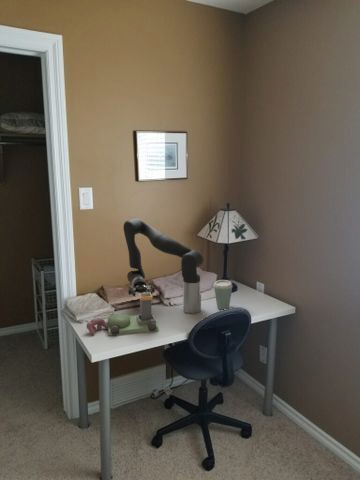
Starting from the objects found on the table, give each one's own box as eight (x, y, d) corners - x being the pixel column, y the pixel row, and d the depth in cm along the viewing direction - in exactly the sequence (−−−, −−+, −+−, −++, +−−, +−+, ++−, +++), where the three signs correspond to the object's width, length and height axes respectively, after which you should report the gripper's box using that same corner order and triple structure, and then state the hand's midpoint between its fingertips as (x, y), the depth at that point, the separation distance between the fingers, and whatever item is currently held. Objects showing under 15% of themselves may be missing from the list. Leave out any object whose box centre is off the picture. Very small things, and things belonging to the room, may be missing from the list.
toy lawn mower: (153, 317, 207) (153, 308, 206) (158, 330, 191) (158, 321, 190) (107, 321, 202) (107, 312, 201) (108, 335, 186) (108, 325, 185)
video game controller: (104, 330, 196) (100, 316, 196) (109, 328, 193) (105, 315, 193) (88, 336, 189) (83, 322, 189) (93, 335, 185) (88, 321, 186)
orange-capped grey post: (151, 318, 201) (150, 292, 198) (152, 322, 195) (152, 296, 192) (139, 319, 200) (138, 293, 197) (140, 324, 194) (140, 297, 191)
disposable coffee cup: (231, 312, 214) (232, 286, 211) (211, 310, 216) (212, 284, 213) (232, 304, 224) (233, 280, 221) (214, 303, 226) (214, 278, 223)
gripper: (126, 279, 220) (129, 288, 204) (151, 277, 223) (156, 286, 207) (126, 292, 221) (129, 302, 206) (151, 289, 224) (156, 299, 209)
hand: (142, 294), depth 206 cm, fingers open, 8 cm apart
